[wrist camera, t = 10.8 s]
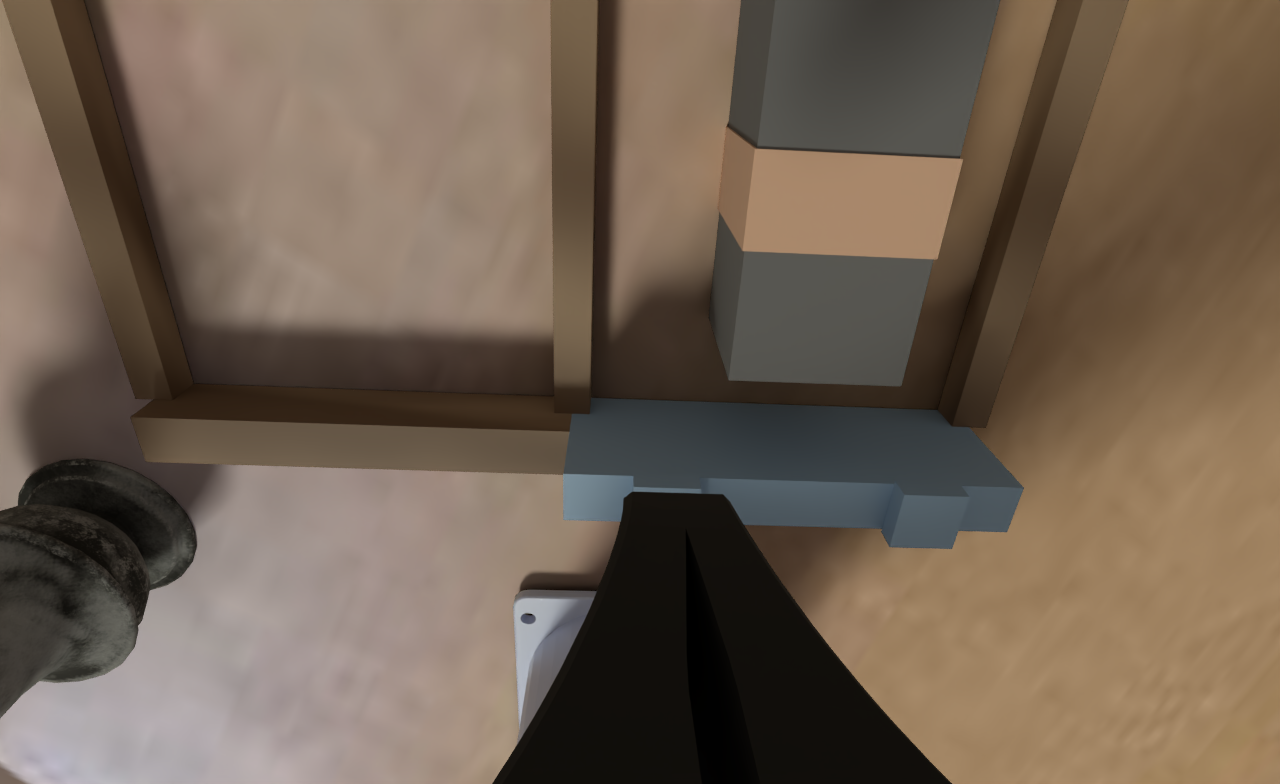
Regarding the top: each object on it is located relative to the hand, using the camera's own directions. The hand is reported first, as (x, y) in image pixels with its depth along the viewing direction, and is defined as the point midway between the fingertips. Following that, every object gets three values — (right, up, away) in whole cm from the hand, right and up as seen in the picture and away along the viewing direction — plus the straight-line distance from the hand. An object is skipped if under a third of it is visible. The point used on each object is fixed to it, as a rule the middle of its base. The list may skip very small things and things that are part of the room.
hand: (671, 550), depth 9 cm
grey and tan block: (+4, +8, +8) cm, 12 cm away
